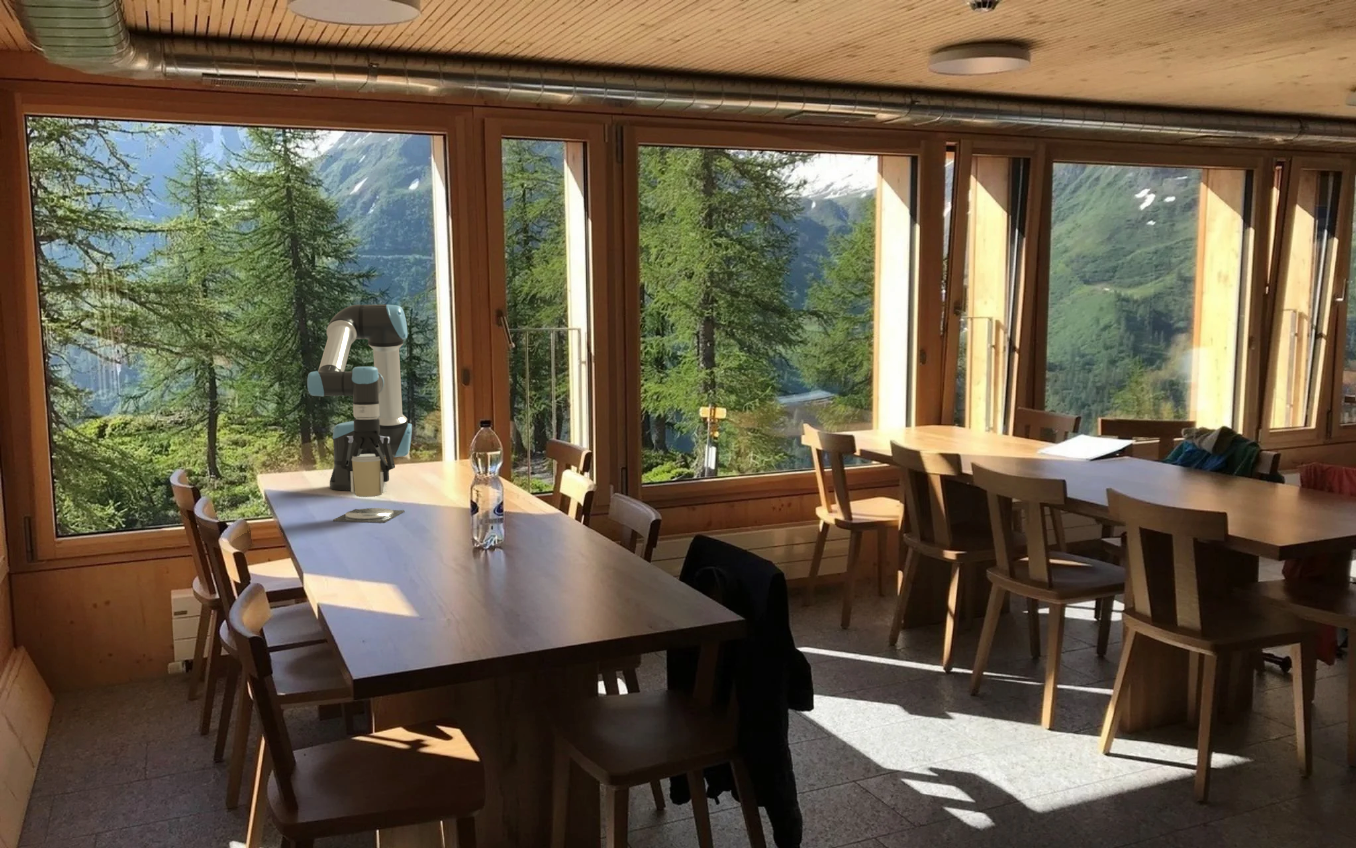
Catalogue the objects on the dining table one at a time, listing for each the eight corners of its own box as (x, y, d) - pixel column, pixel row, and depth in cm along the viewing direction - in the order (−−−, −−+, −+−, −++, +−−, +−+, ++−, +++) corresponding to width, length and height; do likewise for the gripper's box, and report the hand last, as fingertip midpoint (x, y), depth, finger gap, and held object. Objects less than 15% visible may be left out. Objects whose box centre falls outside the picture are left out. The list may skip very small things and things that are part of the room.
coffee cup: (389, 492, 322) (388, 453, 321) (377, 497, 313) (376, 458, 311) (360, 491, 323) (358, 453, 322) (347, 497, 314) (346, 457, 312)
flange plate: (355, 510, 327) (355, 506, 327) (404, 511, 326) (404, 508, 326) (333, 521, 312) (333, 517, 311) (385, 522, 310) (384, 518, 310)
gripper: (327, 418, 313) (329, 493, 315) (396, 419, 310) (398, 495, 313) (337, 416, 320) (340, 489, 323) (405, 417, 318) (407, 490, 320)
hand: (368, 492), depth 318 cm, fingers closed on coffee cup, 9 cm apart
